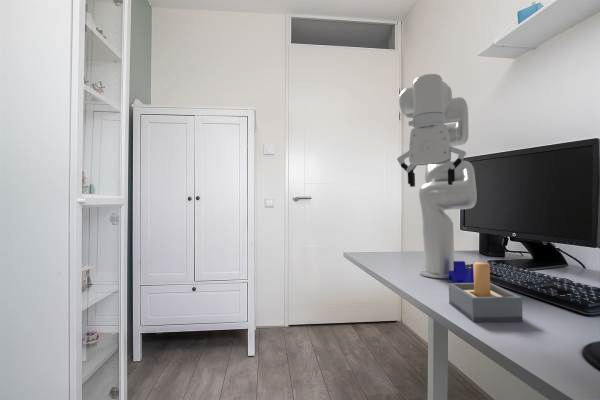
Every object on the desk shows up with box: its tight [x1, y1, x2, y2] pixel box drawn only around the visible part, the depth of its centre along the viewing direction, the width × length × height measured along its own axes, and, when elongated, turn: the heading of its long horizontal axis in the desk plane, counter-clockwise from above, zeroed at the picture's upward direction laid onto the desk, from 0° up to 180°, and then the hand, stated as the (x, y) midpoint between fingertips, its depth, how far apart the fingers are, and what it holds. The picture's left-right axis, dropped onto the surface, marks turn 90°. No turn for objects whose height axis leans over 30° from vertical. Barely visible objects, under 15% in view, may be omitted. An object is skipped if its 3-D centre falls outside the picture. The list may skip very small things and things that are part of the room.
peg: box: [472, 261, 491, 297], centre depth 72 cm, size 3×3×10 cm
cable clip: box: [448, 260, 474, 283], centre depth 95 cm, size 12×4×6 cm, turn 175°
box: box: [448, 282, 524, 323], centre depth 72 cm, size 12×10×5 cm
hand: (430, 185), depth 86 cm, fingers open, 9 cm apart
